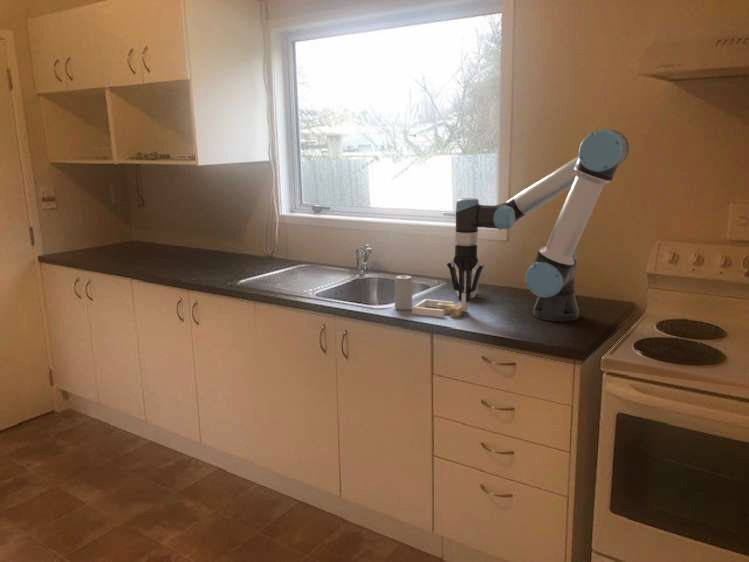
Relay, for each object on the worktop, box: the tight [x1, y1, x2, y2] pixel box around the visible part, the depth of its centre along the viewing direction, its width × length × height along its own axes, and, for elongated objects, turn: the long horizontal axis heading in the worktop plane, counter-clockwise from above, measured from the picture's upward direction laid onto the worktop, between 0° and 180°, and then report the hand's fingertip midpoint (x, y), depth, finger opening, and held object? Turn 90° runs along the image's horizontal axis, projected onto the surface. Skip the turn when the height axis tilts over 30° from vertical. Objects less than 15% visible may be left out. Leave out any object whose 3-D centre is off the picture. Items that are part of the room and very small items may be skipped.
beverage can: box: [394, 274, 414, 312], centre depth 225 cm, size 6×6×12 cm
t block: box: [436, 301, 467, 319], centre depth 219 cm, size 9×9×3 cm
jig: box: [411, 298, 456, 318], centre depth 222 cm, size 12×12×2 cm
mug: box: [455, 269, 480, 299], centre depth 243 cm, size 13×9×10 cm
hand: (464, 310), depth 217 cm, fingers closed
